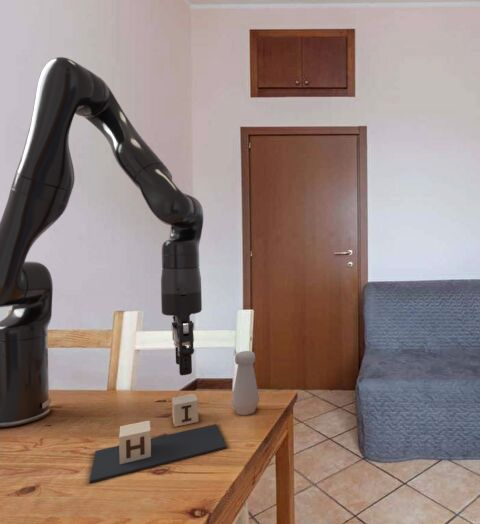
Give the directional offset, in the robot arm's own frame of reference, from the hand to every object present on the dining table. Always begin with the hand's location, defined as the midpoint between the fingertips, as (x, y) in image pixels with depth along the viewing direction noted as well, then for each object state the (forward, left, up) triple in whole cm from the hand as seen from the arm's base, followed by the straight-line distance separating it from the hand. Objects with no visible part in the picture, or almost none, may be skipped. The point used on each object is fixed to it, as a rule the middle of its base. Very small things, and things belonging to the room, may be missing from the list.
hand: (183, 368), depth 77 cm
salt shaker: (+12, -1, -11) cm, 17 cm away
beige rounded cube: (-9, -10, -11) cm, 17 cm away
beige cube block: (0, +1, -11) cm, 11 cm away
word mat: (-5, -10, -11) cm, 16 cm away
